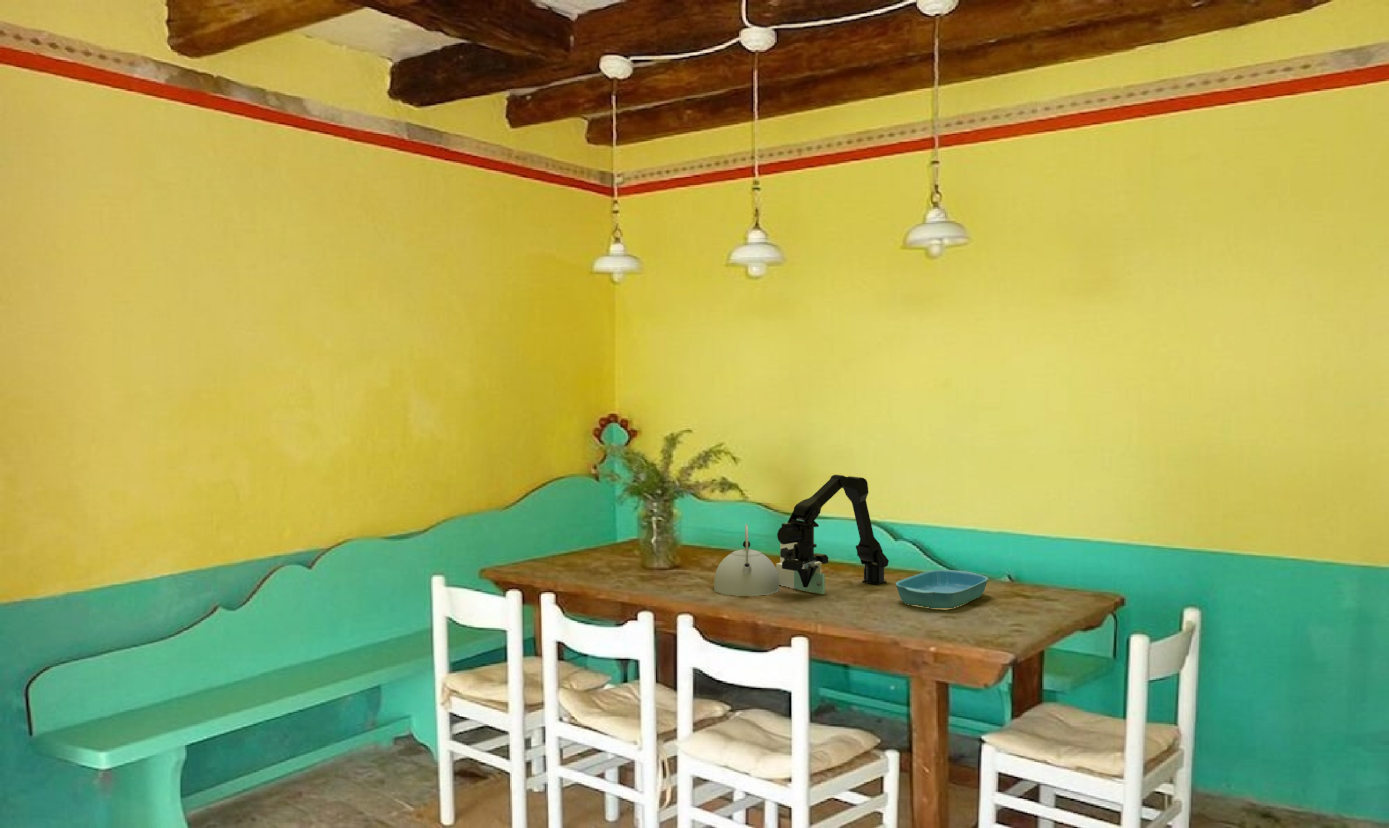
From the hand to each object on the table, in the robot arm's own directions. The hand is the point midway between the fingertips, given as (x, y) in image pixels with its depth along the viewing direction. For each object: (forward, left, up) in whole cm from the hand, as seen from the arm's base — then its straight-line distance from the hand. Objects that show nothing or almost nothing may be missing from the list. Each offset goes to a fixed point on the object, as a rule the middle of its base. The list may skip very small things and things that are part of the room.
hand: (805, 587), depth 334 cm
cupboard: (+14, -13, -3) cm, 19 cm away
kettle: (+20, +7, -3) cm, 22 cm away
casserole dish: (-36, -27, -3) cm, 45 cm away
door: (+2, -4, -2) cm, 5 cm away
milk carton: (+26, -25, -3) cm, 36 cm away
